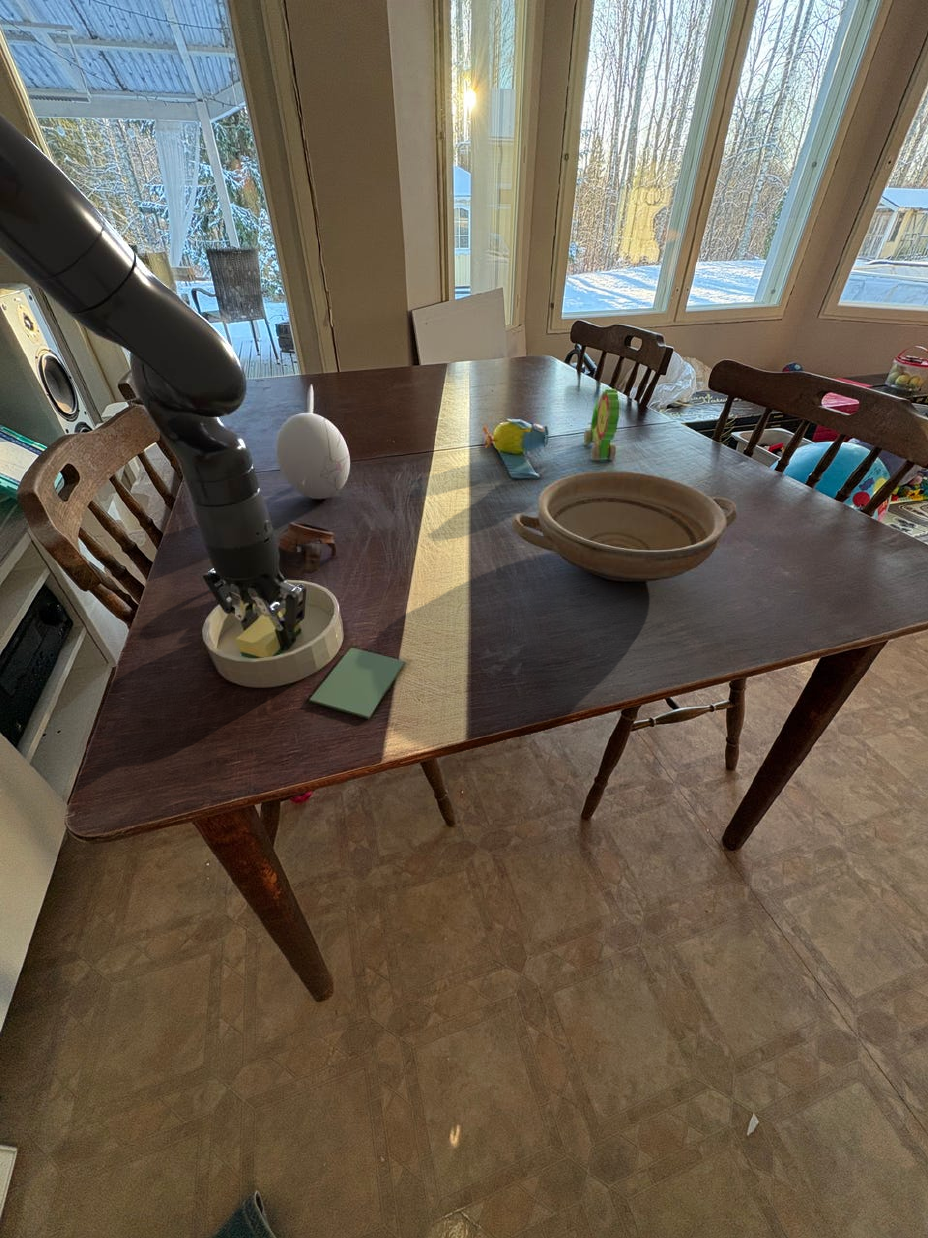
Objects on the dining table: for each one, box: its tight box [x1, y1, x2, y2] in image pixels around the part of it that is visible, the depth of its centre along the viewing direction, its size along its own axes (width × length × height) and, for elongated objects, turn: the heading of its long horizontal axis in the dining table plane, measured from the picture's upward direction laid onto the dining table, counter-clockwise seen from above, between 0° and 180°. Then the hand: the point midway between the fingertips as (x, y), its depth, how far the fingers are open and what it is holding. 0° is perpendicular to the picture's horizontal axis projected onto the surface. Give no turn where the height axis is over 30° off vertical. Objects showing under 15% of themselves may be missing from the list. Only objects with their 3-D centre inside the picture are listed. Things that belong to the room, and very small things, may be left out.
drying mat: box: [309, 647, 406, 720], centre depth 64 cm, size 10×8×1 cm
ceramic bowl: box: [511, 470, 739, 582], centre depth 83 cm, size 37×29×10 cm
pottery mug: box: [278, 521, 338, 579], centre depth 84 cm, size 12×10×8 cm
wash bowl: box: [201, 579, 344, 689], centre depth 69 cm, size 17×17×4 cm
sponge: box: [236, 611, 302, 659], centre depth 68 cm, size 7×4×3 cm, turn 160°
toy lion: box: [583, 388, 620, 461], centre depth 120 cm, size 16×5×15 cm, turn 0°
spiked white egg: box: [275, 383, 351, 500], centre depth 104 cm, size 19×14×25 cm
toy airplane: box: [481, 418, 550, 480], centre depth 121 cm, size 28×9×15 cm
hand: (272, 641), depth 69 cm, fingers closed on sponge, 4 cm apart
